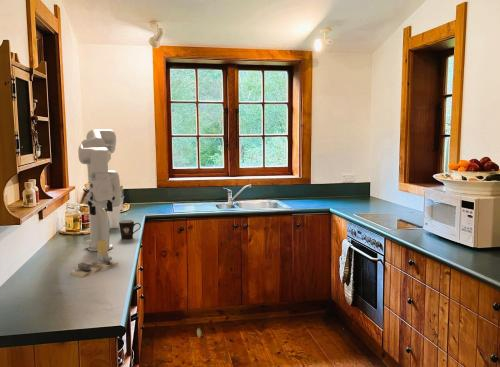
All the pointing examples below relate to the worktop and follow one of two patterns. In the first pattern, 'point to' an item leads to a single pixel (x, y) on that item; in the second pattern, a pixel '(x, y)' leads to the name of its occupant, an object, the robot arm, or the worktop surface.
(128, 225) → the coffee mug
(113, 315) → the worktop surface
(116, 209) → the cup
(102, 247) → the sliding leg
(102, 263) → the board
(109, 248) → the robot arm
